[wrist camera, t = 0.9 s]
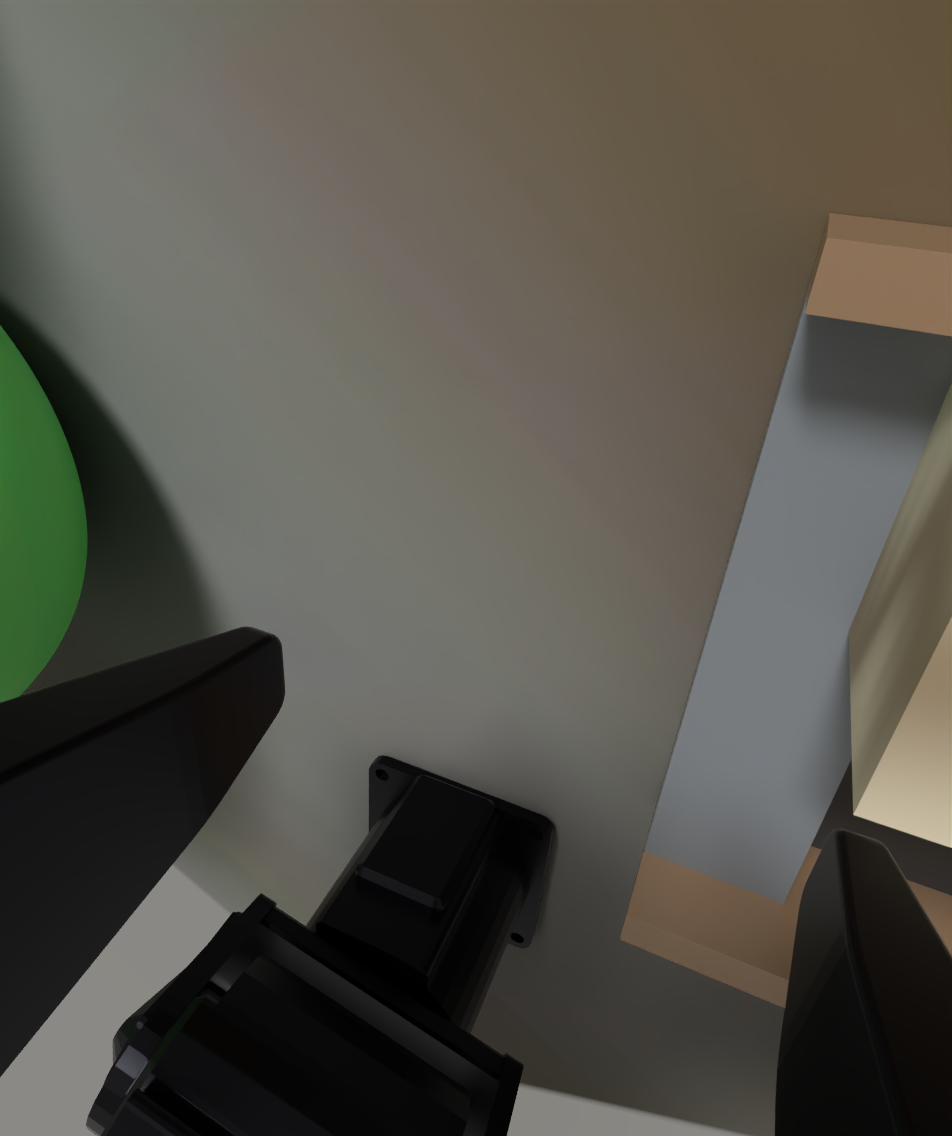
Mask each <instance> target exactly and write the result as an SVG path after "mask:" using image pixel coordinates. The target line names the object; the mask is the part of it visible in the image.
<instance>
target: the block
mask: <svg viewBox="0 0 952 1136" xmlns="http://www.w3.org/2000/svg"><path fill="white" fill-rule="evenodd" d="M849 663H850V704H851V744H852V785H853V815H855V816H858V817H861V818H864V819H867V820H870V821H873V822H876V823H879V824H882V825H885V826H888V827H891V828H894V829H897V830H900V831H903V832H906V833H909V834H912V835H915V836H917V837H920V838H923V839H926V840H929V841H932V842H935V843H938V844H941V845H944V846H947V847H950V848H952V383H951V385H950V388H949V390H948V393H947V395H946V397H945V400H944V402H943V405H942V407H941V410H940V412H939V414H938V417H937V419H936V422H935V424H934V426H933V429H932V431H931V434H930V436H929V438H928V441H927V443H926V446H925V448H924V451H923V453H922V455H921V458H920V460H919V463H918V465H917V467H916V470H915V472H914V475H913V477H912V480H911V482H910V484H909V487H908V489H907V492H906V494H905V496H904V499H903V501H902V504H901V506H900V508H899V511H898V513H897V516H896V518H895V521H894V523H893V525H892V528H891V530H890V533H889V535H888V537H887V540H886V542H885V545H884V547H883V549H882V552H881V554H880V557H879V559H878V562H877V564H876V566H875V569H874V571H873V574H872V576H871V578H870V581H869V583H868V586H867V588H866V591H865V593H864V595H863V598H862V600H861V603H860V605H859V607H858V610H857V612H856V615H855V617H854V619H853V622H852V624H851V627H850V629H849Z"/></svg>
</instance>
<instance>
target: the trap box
mask: <svg viewBox="0 0 952 1136" xmlns="http://www.w3.org/2000/svg"><path fill="white" fill-rule="evenodd" d="M951 383H952V227H946V226H937V225H929V224H920V223H911V222H903V221H894V220H885V219H877V218H868V217H859V216H851V215H842V214H833V213H829V216H828V220H827V223H826V227H825V230H824V233H823V237H822V240H821V244H820V247H819V251H818V254H817V257H816V261H815V264H814V268H813V271H812V274H811V278H810V281H809V285H808V288H807V292H806V295H805V298H804V302H803V305H802V309H801V312H800V315H799V319H798V322H797V326H796V329H795V332H794V336H793V339H792V343H791V346H790V350H789V353H788V356H787V360H786V363H785V367H784V370H783V373H782V377H781V380H780V384H779V387H778V391H777V394H776V397H775V401H774V404H773V408H772V411H771V414H770V418H769V421H768V425H767V428H766V432H765V435H764V438H763V442H762V445H761V449H760V452H759V455H758V459H757V462H756V466H755V469H754V473H753V476H752V479H751V483H750V486H749V490H748V493H747V496H746V500H745V503H744V507H743V510H742V513H741V517H740V520H739V524H738V527H737V531H736V534H735V537H734V541H733V544H732V548H731V551H730V554H729V558H728V561H727V565H726V568H725V572H724V575H723V578H722V582H721V585H720V589H719V592H718V595H717V599H716V602H715V606H714V609H713V613H712V616H711V619H710V623H709V626H708V630H707V633H706V636H705V640H704V643H703V647H702V650H701V653H700V657H699V660H698V664H697V667H696V671H695V674H694V677H693V681H692V684H691V688H690V691H689V694H688V698H687V701H686V705H685V708H684V712H683V715H682V718H681V722H680V725H679V729H678V732H677V735H676V739H675V742H674V746H673V749H672V753H671V756H670V759H669V763H668V766H667V770H666V773H665V776H664V780H663V783H662V787H661V790H660V794H659V797H658V800H657V804H656V807H655V811H654V814H653V818H652V822H651V825H650V829H649V833H648V836H647V840H646V844H645V847H644V851H643V855H642V858H641V862H640V866H639V869H638V873H637V877H636V880H635V884H634V888H633V891H632V895H631V899H630V902H629V906H628V910H627V913H626V917H625V920H624V924H623V928H622V931H621V935H620V940H622V941H625V942H627V943H629V944H632V945H634V946H636V947H639V948H641V949H644V950H646V951H648V952H651V953H653V954H656V955H658V956H660V957H663V958H665V959H668V960H670V961H672V962H675V963H677V964H680V965H682V966H684V967H687V968H689V969H691V970H694V971H696V972H699V973H701V974H703V975H706V976H708V977H711V978H713V979H715V980H718V981H720V982H723V983H725V984H727V985H730V986H732V987H735V988H737V989H739V990H742V991H744V992H746V993H749V994H751V995H754V996H756V997H758V998H761V999H763V1000H766V1001H768V1002H770V1003H773V1004H775V1005H778V1006H780V1007H782V1008H785V1005H786V998H787V990H788V983H789V976H790V969H791V962H792V955H793V948H794V940H795V933H796V926H797V919H798V912H799V905H800V901H801V896H802V893H803V889H804V886H805V884H806V881H807V879H808V877H809V875H810V873H811V871H812V869H813V867H814V864H815V862H816V860H817V858H818V856H819V854H820V852H821V850H822V848H823V846H824V843H825V841H826V839H827V837H828V835H829V834H830V833H831V832H832V831H833V830H834V829H838V828H843V829H846V830H849V831H852V832H855V833H858V834H861V835H864V836H867V837H870V838H873V839H875V840H878V841H880V842H881V843H883V844H884V845H885V846H886V847H887V848H888V850H889V851H890V853H891V855H892V856H893V858H894V860H895V861H896V863H897V865H898V866H899V868H900V870H901V871H902V873H903V875H904V876H905V878H906V880H907V881H908V883H909V885H910V886H911V888H912V890H913V891H914V893H915V895H916V896H917V898H918V900H919V901H920V903H921V905H922V906H923V908H924V910H925V911H926V913H927V915H928V916H929V918H930V920H931V921H932V923H933V925H934V926H935V928H936V930H937V931H938V933H939V935H940V936H941V938H942V940H943V941H944V943H945V945H946V946H947V948H948V950H949V951H950V953H951V955H952V848H950V847H947V846H944V845H941V844H938V843H935V842H932V841H929V840H926V839H923V838H920V837H917V836H915V835H912V834H909V833H906V832H903V831H900V830H897V829H894V828H891V827H888V826H885V825H882V824H879V823H876V822H873V821H870V820H867V819H864V818H861V817H858V816H855V815H853V785H852V744H851V704H850V663H849V629H850V627H851V624H852V622H853V619H854V617H855V615H856V612H857V610H858V607H859V605H860V603H861V600H862V598H863V595H864V593H865V591H866V588H867V586H868V583H869V581H870V578H871V576H872V574H873V571H874V569H875V566H876V564H877V562H878V559H879V557H880V554H881V552H882V549H883V547H884V545H885V542H886V540H887V537H888V535H889V533H890V530H891V528H892V525H893V523H894V521H895V518H896V516H897V513H898V511H899V508H900V506H901V504H902V501H903V499H904V496H905V494H906V492H907V489H908V487H909V484H910V482H911V480H912V477H913V475H914V472H915V470H916V467H917V465H918V463H919V460H920V458H921V455H922V453H923V451H924V448H925V446H926V443H927V441H928V438H929V436H930V434H931V431H932V429H933V426H934V424H935V422H936V419H937V417H938V414H939V412H940V410H941V407H942V405H943V402H944V400H945V397H946V395H947V393H948V390H949V388H950V385H951Z"/></svg>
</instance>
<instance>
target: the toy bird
mask: <svg viewBox="0 0 952 1136" xmlns="http://www.w3.org/2000/svg"><path fill="white" fill-rule="evenodd" d="M86 561H87V521H86V512H85V505H84V499H83V493H82V489H81V484H80V480H79V476H78V472H77V469H76V465H75V462H74V459H73V456H72V453H71V450H70V448H69V445H68V442H67V440H66V437H65V435H64V432H63V430H62V427H61V425H60V423H59V421H58V418H57V416H56V414H55V412H54V410H53V408H52V406H51V404H50V402H49V400H48V398H47V396H46V395H45V393H44V391H43V389H42V387H41V385H40V384H39V382H38V380H37V379H36V377H35V375H34V374H33V372H32V370H31V369H30V367H29V365H28V364H27V362H26V361H25V359H24V358H23V356H22V355H21V353H20V352H19V350H18V349H17V347H16V346H15V345H14V343H13V342H12V340H11V339H10V338H9V336H8V335H7V334H6V332H5V331H4V330H3V328H2V327H1V326H0V702H3V701H7V700H10V699H13V698H16V697H19V696H20V695H21V694H22V693H23V692H24V691H25V690H26V689H27V688H28V687H29V686H30V684H31V683H32V682H33V681H34V680H35V679H36V677H37V676H38V675H39V674H40V673H41V671H42V670H43V669H44V667H45V666H46V665H47V663H48V662H49V660H50V659H51V657H52V656H53V654H54V653H55V651H56V650H57V648H58V646H59V645H60V643H61V641H62V639H63V637H64V635H65V633H66V631H67V629H68V627H69V625H70V623H71V620H72V618H73V616H74V613H75V610H76V607H77V604H78V601H79V598H80V594H81V590H82V586H83V581H84V576H85V569H86Z"/></svg>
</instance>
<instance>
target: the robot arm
mask: <svg viewBox="0 0 952 1136" xmlns="http://www.w3.org/2000/svg"><path fill="white" fill-rule="evenodd" d="M284 696H285V681H284V667H283V653H282V645H281V642H280V640H279V638H278V637H276V636H275V635H273V634H270V633H268V632H265V631H262V630H259V629H256V628H253V627H241V628H237V629H234V630H231V631H228V632H224V633H221V634H218V635H215V636H212V637H208V638H205V639H202V640H199V641H196V642H192V643H189V644H186V645H183V646H180V647H176V648H173V649H170V650H167V651H164V652H160V653H157V654H154V655H151V656H148V657H144V658H141V659H138V660H135V661H132V662H128V663H125V664H122V665H119V666H116V667H112V668H109V669H106V670H103V671H100V672H96V673H93V674H90V675H87V676H84V677H80V678H77V679H74V680H71V681H68V682H64V683H61V684H58V685H55V686H52V687H48V688H45V689H42V690H39V691H35V692H32V693H29V694H26V695H23V696H19V697H16V698H13V699H10V700H7V701H3V702H0V1077H1V1076H2V1074H3V1073H4V1072H5V1070H6V1069H7V1068H8V1067H9V1066H10V1064H11V1063H12V1062H13V1061H14V1059H15V1058H16V1057H17V1056H18V1054H19V1053H20V1052H21V1051H22V1050H23V1048H24V1047H25V1046H26V1045H27V1043H28V1042H29V1041H30V1040H31V1038H32V1037H33V1036H34V1035H35V1033H36V1032H37V1031H38V1030H39V1029H40V1027H41V1026H42V1025H43V1024H44V1022H45V1021H46V1020H47V1019H48V1017H49V1016H50V1015H51V1014H52V1012H53V1011H54V1010H55V1009H56V1007H57V1006H58V1005H59V1004H60V1003H61V1001H62V1000H63V999H64V998H65V996H66V995H67V994H68V993H69V992H70V990H71V989H72V988H73V986H74V985H75V984H76V983H77V982H78V980H79V979H80V978H81V977H82V975H83V974H84V973H85V972H86V970H87V969H88V968H89V967H90V966H91V964H92V963H93V962H94V960H95V959H96V958H97V957H98V956H99V954H100V953H101V952H102V951H103V949H104V948H105V947H106V946H107V945H108V943H109V942H110V941H111V940H112V938H113V937H114V936H115V935H116V933H117V932H118V931H119V929H120V928H121V927H122V926H123V925H124V924H125V922H126V921H127V920H128V918H129V917H130V916H131V915H132V913H133V912H134V911H135V910H136V909H137V907H138V906H139V905H140V904H141V902H142V901H143V900H144V899H145V898H146V896H147V895H148V894H149V892H150V891H151V890H152V889H153V888H154V886H155V885H156V884H157V883H158V881H159V880H160V879H161V878H162V877H163V875H164V874H165V873H166V872H167V870H168V869H169V868H170V867H171V865H172V864H173V863H174V862H175V861H176V859H177V858H178V857H179V856H180V854H181V853H182V852H183V851H184V849H185V848H186V847H187V846H188V844H189V843H190V842H191V841H192V840H193V838H194V837H195V836H196V834H197V833H198V832H199V831H200V829H201V828H202V827H203V825H204V824H205V823H206V822H207V820H208V819H209V817H210V816H211V814H212V813H213V812H214V810H215V809H216V807H217V806H218V804H219V803H220V802H221V800H222V798H223V797H224V795H225V794H226V792H227V791H228V789H229V788H230V786H231V785H232V783H233V782H234V780H235V779H236V777H237V776H238V774H239V772H240V771H241V769H242V768H243V766H244V765H245V763H246V762H247V760H248V759H249V757H250V756H251V754H252V753H253V751H254V750H255V748H256V746H257V745H258V743H259V742H260V740H261V739H262V737H263V736H264V734H265V733H266V731H267V730H268V728H269V727H270V725H271V724H272V722H273V720H274V719H275V717H276V716H277V714H278V713H279V711H280V709H281V707H282V704H283V701H284ZM536 829H537V830H536ZM538 830H539V831H538ZM553 835H554V826H553V824H552V822H551V821H550V820H549V819H548V818H546V817H545V816H543V815H541V814H538V813H535V812H533V811H530V810H527V809H525V808H522V807H520V806H517V805H514V804H512V803H509V802H506V801H504V800H501V799H498V798H496V797H493V796H491V795H488V794H485V793H483V792H480V791H477V790H475V789H472V788H470V787H467V786H464V785H462V784H459V783H456V782H454V781H451V780H448V779H446V778H443V777H441V776H438V775H435V774H433V773H430V772H427V771H425V770H422V769H420V768H417V767H414V766H412V765H409V764H406V763H404V762H401V761H398V760H396V759H393V758H391V757H388V756H378V757H377V758H376V759H375V760H374V762H373V763H372V764H371V766H370V769H369V833H368V835H367V836H366V838H365V839H364V841H363V842H362V844H361V845H360V847H359V848H358V850H357V851H356V853H355V854H354V856H353V857H352V858H351V860H350V861H349V863H348V864H347V866H346V867H345V869H344V870H343V872H342V873H341V875H340V876H339V878H338V879H337V881H336V882H335V884H334V885H333V886H332V888H331V889H330V891H329V892H328V894H327V895H326V897H325V898H324V900H323V901H322V903H321V904H320V906H319V907H318V909H317V910H316V911H315V913H314V914H313V916H312V917H311V919H310V920H309V922H308V923H307V925H306V926H304V925H303V924H301V923H300V922H298V921H297V920H295V919H294V918H292V917H291V916H289V915H288V914H286V913H285V912H283V911H282V910H280V909H279V908H277V907H276V904H277V903H276V902H274V901H273V900H271V899H270V898H268V897H266V896H265V895H263V894H262V893H261V894H260V895H259V896H258V897H257V898H256V899H255V900H254V901H253V902H252V903H251V905H250V906H249V907H248V908H247V909H246V910H245V911H244V912H243V913H241V912H233V913H232V914H231V915H230V917H229V918H228V919H227V921H226V922H225V923H224V924H223V926H222V927H221V928H220V929H219V931H218V932H217V933H216V934H215V936H214V937H213V938H212V940H211V941H210V942H209V943H208V945H207V946H206V947H205V948H204V949H203V950H202V951H201V952H200V953H199V954H198V955H197V957H196V958H195V959H194V960H193V961H192V962H191V963H190V964H189V965H188V966H187V967H186V969H184V970H183V971H182V972H181V973H179V974H178V975H177V976H176V977H175V978H174V979H173V980H172V981H170V982H169V983H168V984H167V985H166V986H165V987H163V988H162V989H161V990H160V991H159V992H158V993H156V994H155V995H154V996H153V997H152V998H151V999H150V1000H148V1001H147V1002H146V1003H145V1004H144V1005H143V1006H142V1007H141V1008H139V1009H138V1010H137V1011H136V1012H135V1013H134V1014H132V1015H131V1016H130V1017H129V1018H128V1019H127V1020H126V1021H125V1022H124V1023H123V1024H122V1026H121V1027H120V1028H119V1030H118V1031H117V1033H116V1035H115V1036H114V1039H113V1066H112V1068H111V1070H110V1071H109V1073H108V1075H107V1077H106V1080H105V1082H104V1085H103V1087H102V1089H101V1091H100V1093H99V1094H98V1096H97V1098H96V1100H95V1102H94V1104H93V1106H92V1109H91V1111H90V1113H89V1115H88V1119H87V1123H86V1126H87V1128H88V1129H89V1130H90V1131H91V1132H93V1133H94V1134H95V1135H97V1136H507V1132H508V1128H509V1124H510V1120H511V1116H512V1112H513V1108H514V1103H515V1099H516V1095H517V1091H518V1087H519V1083H520V1079H521V1075H522V1070H523V1064H522V1063H520V1062H519V1061H517V1060H516V1059H514V1058H513V1057H511V1056H510V1055H508V1054H507V1053H506V1054H505V1055H504V1056H503V1055H502V1054H500V1053H498V1052H497V1051H495V1050H494V1049H492V1048H491V1047H489V1046H488V1045H486V1044H485V1043H483V1042H482V1041H480V1040H479V1039H477V1038H476V1037H474V1036H473V1035H471V1034H470V1033H471V1031H472V1028H473V1026H474V1023H475V1021H476V1019H477V1016H478V1014H479V1011H480V1009H481V1006H482V1004H483V1002H484V999H485V997H486V994H487V992H488V989H489V987H490V985H491V982H492V980H493V977H494V975H495V972H496V970H497V968H498V965H499V963H500V960H501V958H502V955H503V953H504V951H505V948H506V946H507V943H509V944H512V945H514V946H516V947H520V948H526V947H529V945H530V944H531V941H532V938H533V936H534V932H535V927H536V922H537V917H538V912H539V907H540V901H541V896H542V891H543V886H544V881H545V876H546V871H547V866H548V860H549V855H550V850H551V845H552V840H553ZM775 1136H952V955H951V953H950V951H949V950H948V948H947V946H946V945H945V943H944V941H943V940H942V938H941V936H940V935H939V933H938V931H937V930H936V928H935V926H934V925H933V923H932V921H931V920H930V918H929V916H928V915H927V913H926V911H925V910H924V908H923V906H922V905H921V903H920V901H919V900H918V898H917V896H916V895H915V893H914V891H913V890H912V888H911V886H910V885H909V883H908V881H907V880H906V878H905V876H904V875H903V873H902V871H901V870H900V868H899V866H898V865H897V863H896V861H895V860H894V858H893V856H892V855H891V853H890V851H889V850H888V848H887V847H886V846H885V845H884V844H883V843H881V842H880V841H878V840H875V839H873V838H870V837H867V836H864V835H861V834H858V833H855V832H852V831H849V830H846V829H843V828H838V829H834V830H833V831H832V832H831V833H830V834H829V835H828V837H827V839H826V841H825V843H824V846H823V848H822V850H821V852H820V854H819V856H818V858H817V860H816V862H815V864H814V867H813V869H812V871H811V873H810V875H809V877H808V879H807V881H806V884H805V886H804V889H803V893H802V896H801V901H800V905H799V912H798V919H797V926H796V933H795V940H794V948H793V955H792V962H791V969H790V976H789V983H788V990H787V998H786V1005H785V1012H784V1019H783V1026H782V1033H781V1041H780V1049H779V1058H778V1067H777V1082H776V1104H775Z"/></svg>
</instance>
